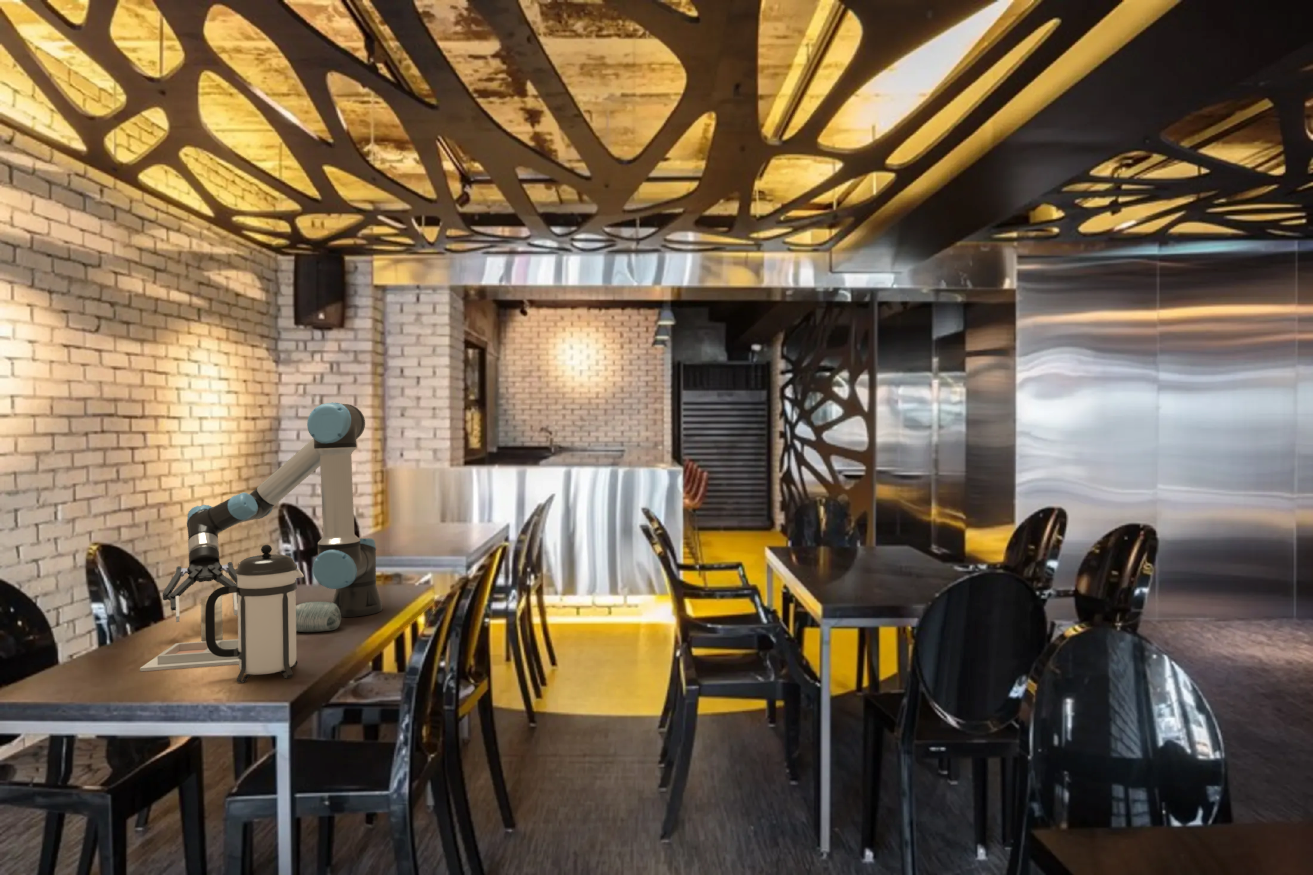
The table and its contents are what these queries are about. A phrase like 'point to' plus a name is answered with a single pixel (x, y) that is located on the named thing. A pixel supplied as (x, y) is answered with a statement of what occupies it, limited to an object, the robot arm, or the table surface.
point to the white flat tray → (191, 656)
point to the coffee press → (261, 615)
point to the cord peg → (217, 619)
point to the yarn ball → (317, 616)
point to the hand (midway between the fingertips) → (207, 615)
